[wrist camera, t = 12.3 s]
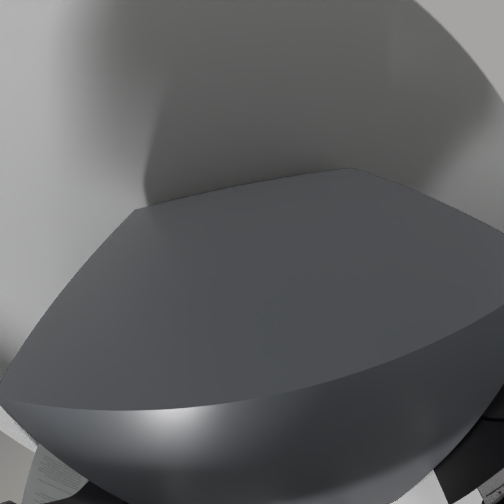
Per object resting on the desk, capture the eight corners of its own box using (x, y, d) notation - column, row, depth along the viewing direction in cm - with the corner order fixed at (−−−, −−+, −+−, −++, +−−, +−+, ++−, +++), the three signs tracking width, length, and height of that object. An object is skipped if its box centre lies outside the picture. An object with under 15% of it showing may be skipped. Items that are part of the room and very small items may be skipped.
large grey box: (351, 167, 9) (556, 266, 2) (347, 388, 14) (396, 500, 7) (135, 210, 9) (-8, 396, 2) (218, 416, 14) (227, 540, 7)
